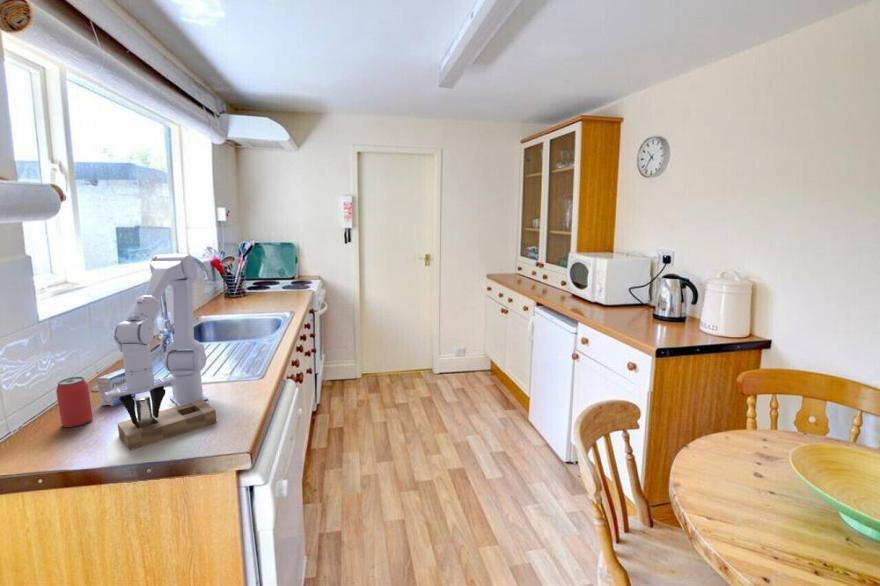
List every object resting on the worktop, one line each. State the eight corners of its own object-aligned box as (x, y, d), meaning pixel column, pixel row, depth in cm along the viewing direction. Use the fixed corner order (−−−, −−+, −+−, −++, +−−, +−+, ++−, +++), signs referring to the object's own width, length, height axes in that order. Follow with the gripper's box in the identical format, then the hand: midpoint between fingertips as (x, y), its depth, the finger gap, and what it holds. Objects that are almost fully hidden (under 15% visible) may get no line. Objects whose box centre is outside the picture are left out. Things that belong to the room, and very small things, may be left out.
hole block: (119, 436, 114) (117, 423, 113) (203, 410, 128) (201, 399, 127) (129, 450, 107) (127, 436, 106) (216, 422, 121) (215, 410, 121)
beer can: (86, 415, 126) (80, 374, 123) (97, 420, 122) (91, 378, 120) (57, 424, 120) (50, 382, 118) (68, 430, 117) (61, 387, 115)
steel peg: (138, 435, 114) (134, 398, 112) (152, 431, 116) (148, 395, 114) (142, 439, 112) (137, 402, 110) (155, 435, 114) (151, 398, 112)
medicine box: (113, 406, 131) (109, 378, 129) (100, 405, 132) (96, 377, 130) (136, 396, 138) (132, 369, 137) (124, 394, 139) (120, 368, 138)
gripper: (106, 380, 103) (114, 435, 105) (176, 364, 113) (182, 415, 116) (100, 372, 108) (107, 425, 110) (167, 358, 118) (173, 406, 120)
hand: (145, 419), depth 113 cm, fingers open, 4 cm apart
